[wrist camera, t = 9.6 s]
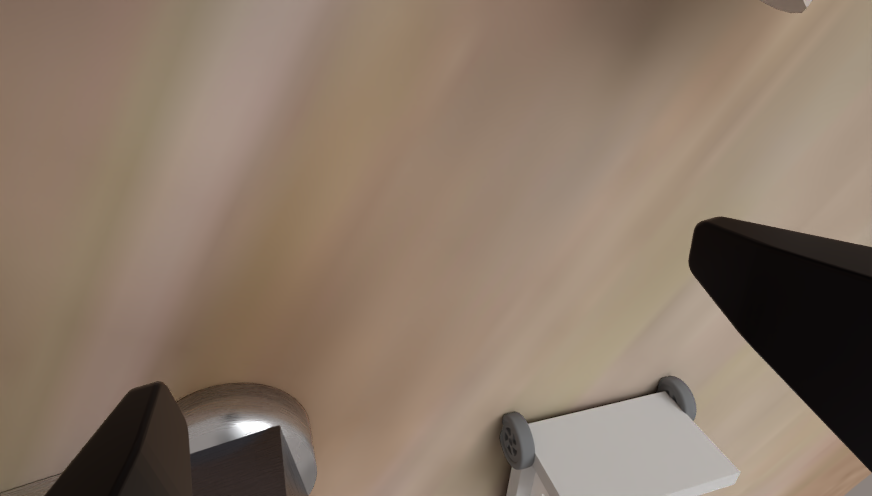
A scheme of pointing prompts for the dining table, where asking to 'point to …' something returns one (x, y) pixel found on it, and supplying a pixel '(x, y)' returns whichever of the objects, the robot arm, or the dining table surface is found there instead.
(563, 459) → the toy car
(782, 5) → the pipe connector
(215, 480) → the dark grey block
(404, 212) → the dining table surface
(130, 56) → the dining table surface
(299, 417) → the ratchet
